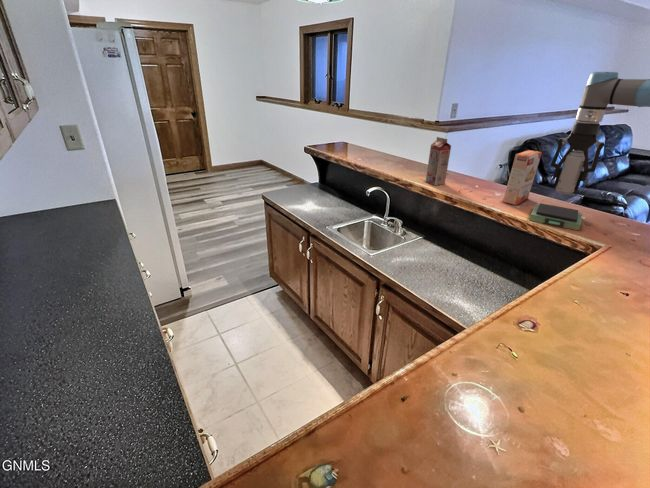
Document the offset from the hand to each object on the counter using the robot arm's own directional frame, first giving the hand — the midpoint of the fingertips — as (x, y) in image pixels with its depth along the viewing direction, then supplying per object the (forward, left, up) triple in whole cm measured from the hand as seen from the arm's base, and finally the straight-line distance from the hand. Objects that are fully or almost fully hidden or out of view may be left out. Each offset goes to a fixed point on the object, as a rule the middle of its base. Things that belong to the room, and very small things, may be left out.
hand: (565, 187), depth 129 cm
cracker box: (+16, -15, -13) cm, 25 cm away
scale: (0, 0, -13) cm, 13 cm away
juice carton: (+54, -20, -13) cm, 59 cm away
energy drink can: (0, 0, -2) cm, 2 cm away
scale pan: (0, 0, -10) cm, 10 cm away
